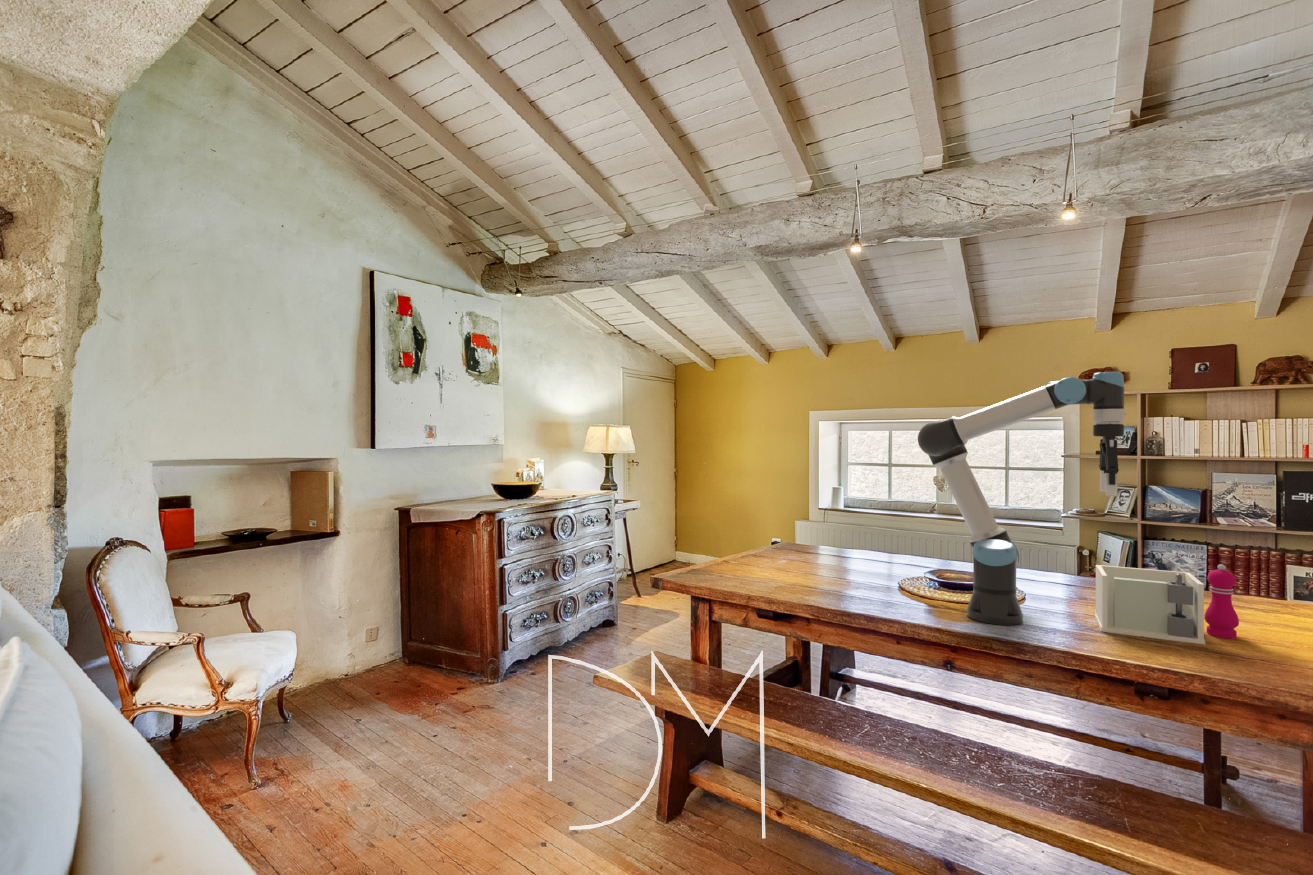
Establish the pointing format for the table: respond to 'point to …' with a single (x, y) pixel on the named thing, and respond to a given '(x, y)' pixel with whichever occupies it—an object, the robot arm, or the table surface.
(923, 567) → the table surface
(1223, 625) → the pepper mill
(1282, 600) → the table surface
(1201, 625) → the carcass
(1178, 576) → the hinge pin
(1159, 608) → the door
